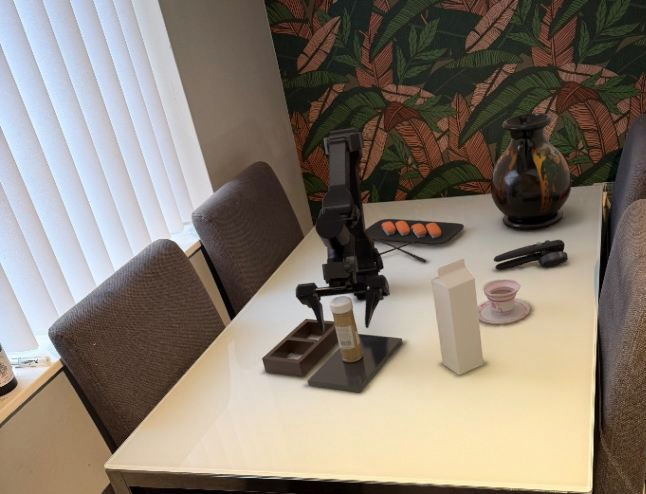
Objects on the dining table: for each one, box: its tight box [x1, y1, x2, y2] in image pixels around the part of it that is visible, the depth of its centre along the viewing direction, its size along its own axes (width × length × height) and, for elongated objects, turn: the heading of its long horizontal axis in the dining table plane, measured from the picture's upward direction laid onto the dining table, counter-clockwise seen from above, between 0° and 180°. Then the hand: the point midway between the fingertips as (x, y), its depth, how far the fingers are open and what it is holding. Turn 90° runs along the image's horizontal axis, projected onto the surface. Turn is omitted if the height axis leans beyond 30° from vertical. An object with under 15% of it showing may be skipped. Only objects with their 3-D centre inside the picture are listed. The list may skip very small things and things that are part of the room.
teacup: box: [478, 278, 531, 325], centre depth 167 cm, size 12×12×6 cm
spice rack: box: [261, 318, 339, 378], centre depth 166 cm, size 18×10×4 cm, turn 153°
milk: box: [430, 258, 484, 376], centre depth 147 cm, size 6×6×22 cm
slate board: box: [307, 333, 404, 393], centre depth 159 cm, size 20×12×1 cm, turn 153°
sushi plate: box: [366, 218, 465, 263], centre depth 211 cm, size 29×30×4 cm
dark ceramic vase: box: [490, 112, 572, 232], centre depth 205 cm, size 22×22×28 cm
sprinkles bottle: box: [329, 295, 363, 362], centre depth 156 cm, size 5×5×13 cm
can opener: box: [493, 239, 569, 271], centre depth 186 cm, size 18×7×6 cm, turn 88°
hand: (344, 329), depth 154 cm, fingers open, 9 cm apart
